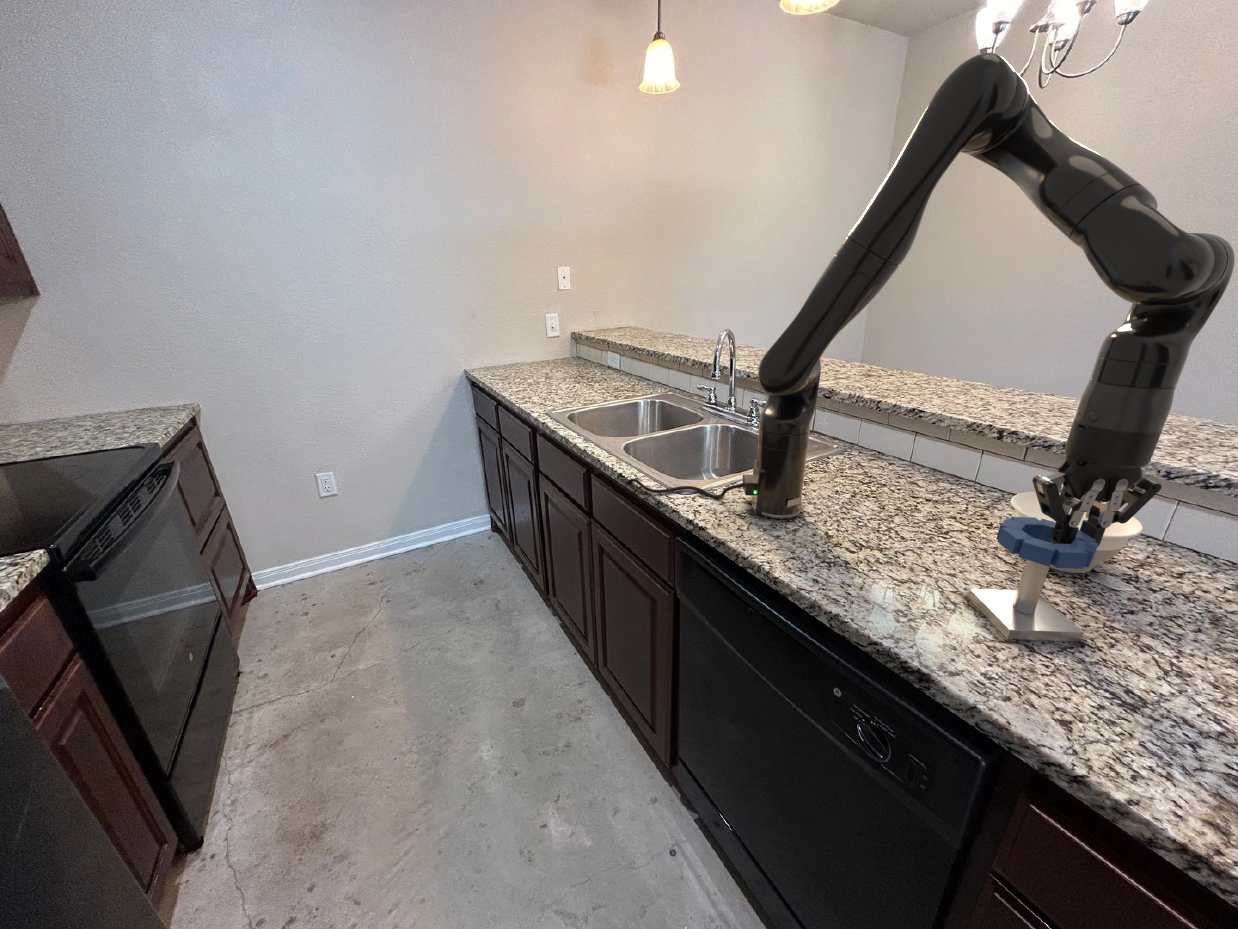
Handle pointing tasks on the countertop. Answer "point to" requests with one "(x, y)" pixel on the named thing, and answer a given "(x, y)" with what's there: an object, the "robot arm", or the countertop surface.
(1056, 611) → the metal peg stand
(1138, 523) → the bowl
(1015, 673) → the countertop surface
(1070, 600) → the countertop surface
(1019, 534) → the ring
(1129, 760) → the countertop surface
